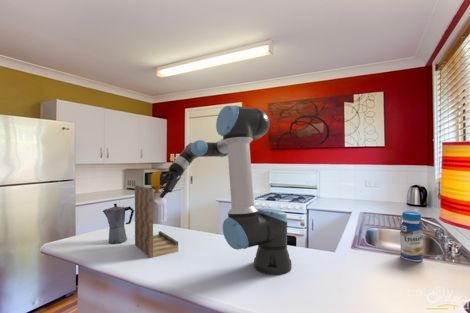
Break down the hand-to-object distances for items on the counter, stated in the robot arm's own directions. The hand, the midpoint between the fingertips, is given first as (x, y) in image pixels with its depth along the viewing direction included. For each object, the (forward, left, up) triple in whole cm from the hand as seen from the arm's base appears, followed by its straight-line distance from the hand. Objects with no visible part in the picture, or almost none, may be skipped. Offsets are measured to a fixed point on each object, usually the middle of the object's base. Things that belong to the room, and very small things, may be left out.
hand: (150, 201), depth 129 cm
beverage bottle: (-80, -87, -23) cm, 120 cm away
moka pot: (+22, +10, -23) cm, 34 cm away
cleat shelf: (0, -2, -23) cm, 23 cm away
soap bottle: (+1, -3, -11) cm, 11 cm away
